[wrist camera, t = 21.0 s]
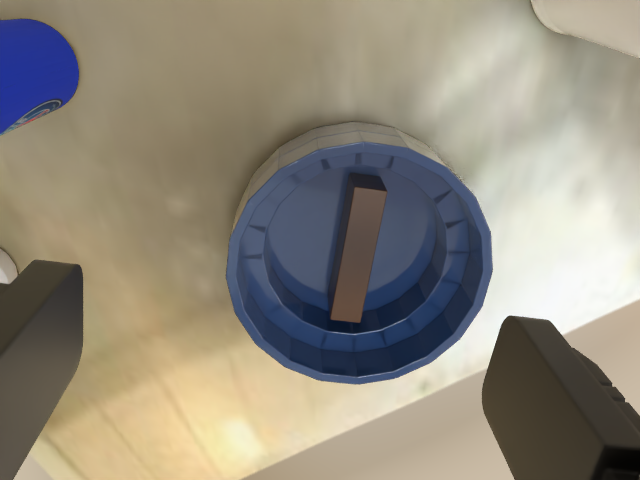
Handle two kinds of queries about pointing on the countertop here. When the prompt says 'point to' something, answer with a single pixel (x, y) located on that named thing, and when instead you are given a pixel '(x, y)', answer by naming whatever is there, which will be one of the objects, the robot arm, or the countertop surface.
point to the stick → (356, 246)
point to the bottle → (7, 268)
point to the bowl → (388, 265)
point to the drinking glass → (595, 21)
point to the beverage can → (33, 72)
